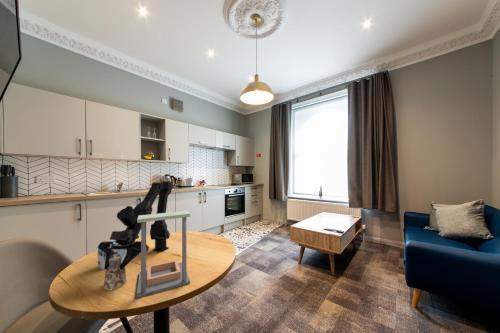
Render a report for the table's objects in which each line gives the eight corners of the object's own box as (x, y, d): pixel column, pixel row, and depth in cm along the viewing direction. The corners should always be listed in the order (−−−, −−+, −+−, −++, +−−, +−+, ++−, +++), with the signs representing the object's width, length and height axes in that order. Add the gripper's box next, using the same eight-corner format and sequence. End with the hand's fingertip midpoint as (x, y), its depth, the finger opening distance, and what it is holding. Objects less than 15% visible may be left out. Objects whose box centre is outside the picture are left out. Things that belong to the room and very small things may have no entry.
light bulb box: (102, 270, 84) (103, 246, 85) (96, 266, 88) (97, 243, 88) (128, 260, 94) (128, 239, 94) (121, 257, 97) (122, 236, 98)
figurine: (100, 292, 69) (101, 259, 69) (106, 282, 75) (107, 251, 76) (123, 287, 71) (124, 255, 72) (127, 277, 78) (127, 248, 78)
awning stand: (139, 274, 81) (140, 210, 82) (183, 264, 89) (183, 206, 90) (136, 298, 65) (137, 219, 66) (190, 283, 73) (190, 213, 74)
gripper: (101, 222, 78) (75, 261, 67) (145, 221, 78) (126, 261, 66) (115, 234, 86) (94, 272, 74) (155, 234, 85) (139, 272, 74)
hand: (112, 269), depth 72 cm, fingers closed on figurine, 6 cm apart
